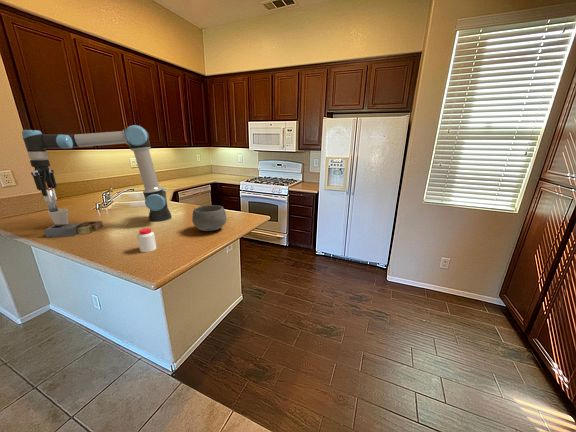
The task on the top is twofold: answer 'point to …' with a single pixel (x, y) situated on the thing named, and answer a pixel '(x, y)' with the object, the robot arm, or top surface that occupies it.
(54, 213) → the cup
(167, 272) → the top surface
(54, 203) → the cylinder
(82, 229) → the tan square peg
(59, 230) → the socket block
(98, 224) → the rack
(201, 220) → the bowl
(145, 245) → the pill bottle
